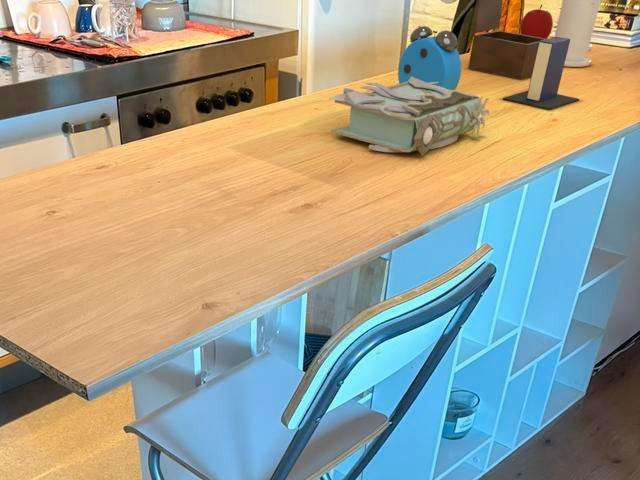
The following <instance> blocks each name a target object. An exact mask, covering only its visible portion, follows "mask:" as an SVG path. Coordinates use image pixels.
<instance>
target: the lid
mask: <svg viewBox="0 0 640 480" xmlns="http://www.w3.org/2000/svg"><path fill="white" fill-rule="evenodd" d="M503 2H504V0H476V3H475V10H474V11H475V12H474V20H473V21H474V22H473V31H472V34H479V33H484V32H487V31H488V32H490V31H495V30H499V29H500V26H501V18H502V9H503Z"/></svg>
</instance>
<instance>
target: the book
mask: <svg viewBox="0 0 640 480" xmlns="http://www.w3.org/2000/svg"><path fill="white" fill-rule="evenodd" d="M569 43H570V39H568V38H562V37H548V38H547V39H544V40H540V41H539V44H538V49H537V53H536V58H535V62H534V67H533V71H532V76H531V77H530V81H529V85H528V88H527V91H528V94H527V98H526V99H527V100H531V101H536V102H542V101H545V100H548V99H552V98H555V97H557V94H558V93H559V92H558V91H559V88H560V84H561V79H562V76H563V71H564V68H565V66H564V64H565V60H566V56H567V52H568V48H569Z"/></svg>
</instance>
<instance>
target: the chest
mask: <svg viewBox="0 0 640 480" xmlns="http://www.w3.org/2000/svg"><path fill="white" fill-rule="evenodd" d="M540 40H544V38H539V37H533V36H527V35H522V34H521V33H515V32H509V31H504V30H499V29H496V30H491V31H488V32H487V31H486V32H481V33H476V34H474V35H473V39H472V44H471V50H470V56H469V61H468V67H467V69H468V70H472V71H477V72H481V73H486V74H491V75H496V76H501V77H506V78H511V79H515V80H518V81H519V80H525V79H527V78H531V76H532V71H533V67H534V62H535V58H536V53H537V49H538V44H539V41H540Z"/></svg>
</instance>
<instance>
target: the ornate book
mask: <svg viewBox="0 0 640 480" xmlns="http://www.w3.org/2000/svg"><path fill="white" fill-rule="evenodd" d="M436 83H439V82H430V83H427V82H424V81H421V80H419V79H417V78H414V77H412V76H411V78H410V79H409V80H408V81H407V82H403V83H400V84H399V83H398V84H393V85H388V86H385V85H383V84H380V83H376V82H365V85H363V86H360V89H363V90H367V91H371V92H361V91H358V90H354V89H351V88H347V87H344V88H343V91H342V93H341V94H336V95H335V96H331V97H327V99H329V100H333V101H334V103H335V104H340V105H344V106H348V107H350V114H349V123H348V126H344V127H341V128H337V129H332V130H331V133H332V134H335V135H339V136H342V137H345V138H350V139H354V140H358V141H361V142H364V143H368V149H369V150H373V151H378V152H382V153H411V152H417V151H418V153H419V155H421V157H423V156H424V155H425V154H427V153H428V151H429V150H433V149H439V148H442V147H445V146H448V145H451V144H453V143H455V142H457V141H458V139H459V136H460V135H463V134H466V133H469V132H470V133H469V134H468V136H472V135H473V134H474V133H475V131H476V130H477V131H476V134H475V137H474V139H476V138H477V137H478V135H479V132H480V128H481V125H482V130H485V126H486V120H485V118H484V117H486V115H487V114H488V115H490V110H489V109H487V108H486V106H487V102H488V101H489V100H491V99H490V98H489V97H487V98H486V99H484V101H483V102H482V100H483V97H484V95H482V96H481V97H480V96H478V95H476V94H470V93H466V92H463V91H461V90H459V89H458V90H457V89H455V90H448V89H446V88H443V87H440V86H436V85H432V84H436ZM483 116H484V117H483Z"/></svg>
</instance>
